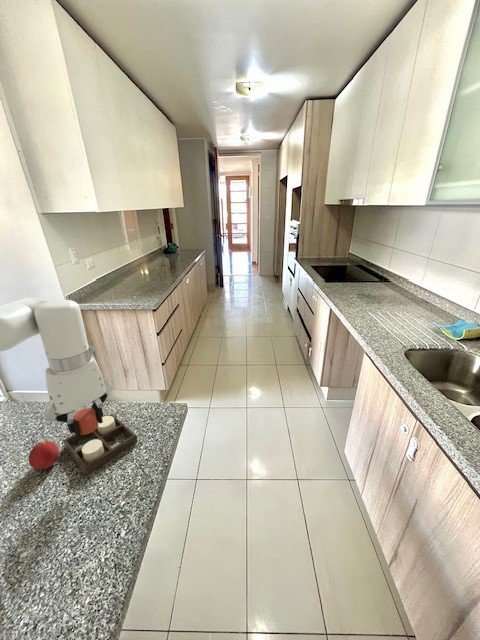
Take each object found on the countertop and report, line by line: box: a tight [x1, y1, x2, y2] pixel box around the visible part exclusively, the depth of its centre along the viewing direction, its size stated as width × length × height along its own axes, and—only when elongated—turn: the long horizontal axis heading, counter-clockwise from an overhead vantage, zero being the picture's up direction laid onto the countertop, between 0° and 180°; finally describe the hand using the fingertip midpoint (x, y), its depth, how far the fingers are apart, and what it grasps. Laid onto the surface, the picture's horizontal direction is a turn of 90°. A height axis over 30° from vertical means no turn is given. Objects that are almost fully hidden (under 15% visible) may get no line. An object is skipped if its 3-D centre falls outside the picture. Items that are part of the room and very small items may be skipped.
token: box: [97, 415, 117, 436], centre depth 72 cm, size 4×4×4 cm
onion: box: [28, 440, 60, 470], centre depth 62 cm, size 6×6×8 cm
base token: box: [81, 439, 105, 465], centre depth 64 cm, size 4×4×4 cm
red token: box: [74, 407, 98, 435], centre depth 61 cm, size 4×4×4 cm
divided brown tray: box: [62, 413, 138, 477], centre depth 69 cm, size 13×13×3 cm
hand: (87, 425), depth 61 cm, fingers closed on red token, 4 cm apart
